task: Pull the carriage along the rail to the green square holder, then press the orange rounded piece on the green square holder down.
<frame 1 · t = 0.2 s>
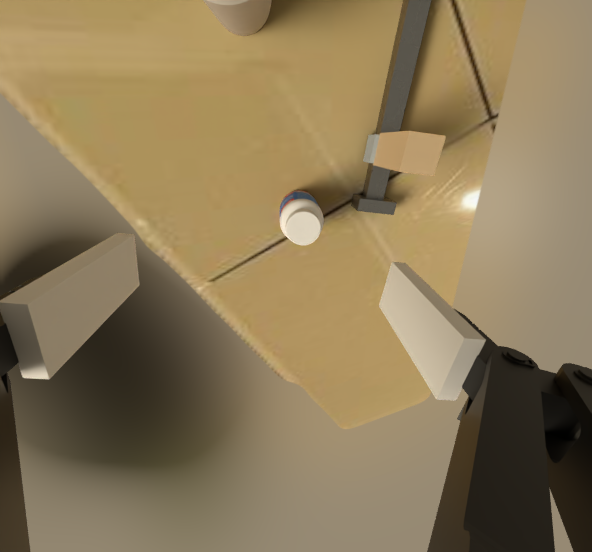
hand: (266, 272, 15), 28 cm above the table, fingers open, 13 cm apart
carriage: (399, 152, 33), point 6 cm above the table, slide at 0.0 cm
pill bottle: (298, 209, 42), on the table
rail: (393, 93, 36), on the table
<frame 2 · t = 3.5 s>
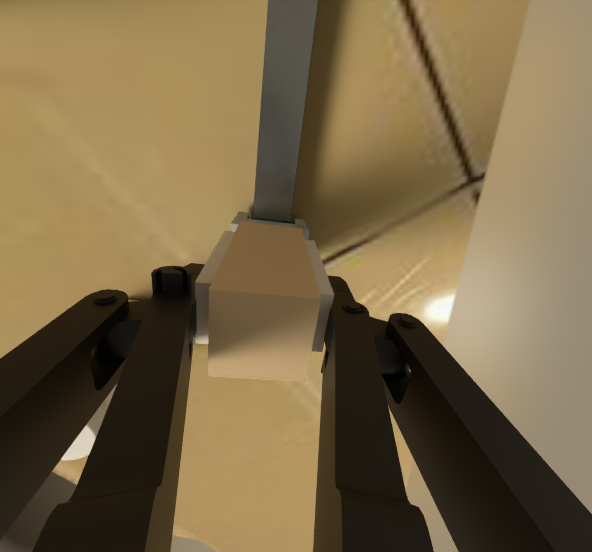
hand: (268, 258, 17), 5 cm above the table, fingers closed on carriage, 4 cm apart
carriage: (267, 271, 15), point 6 cm above the table, slide at 0.0 cm, touching gripper
pill bottle: (139, 325, 24), on the table
rail: (279, 137, 18), on the table
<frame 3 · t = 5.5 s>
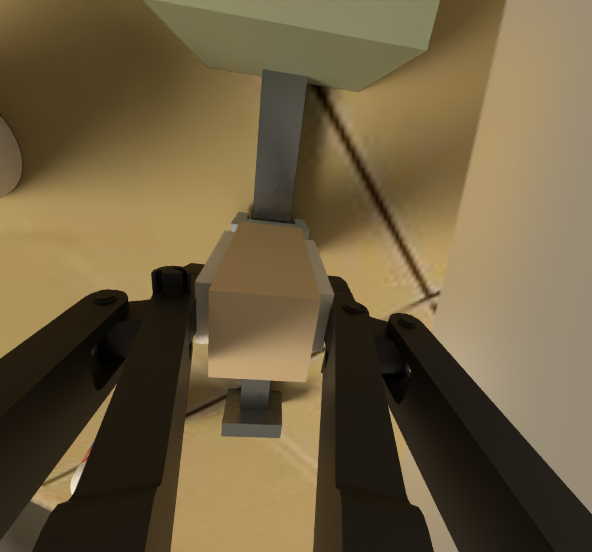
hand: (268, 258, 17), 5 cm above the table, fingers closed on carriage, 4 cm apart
carriage: (267, 271, 15), point 7 cm above the table, slide at 9.4 cm, touching gripper
rail: (266, 271, 22), on the table
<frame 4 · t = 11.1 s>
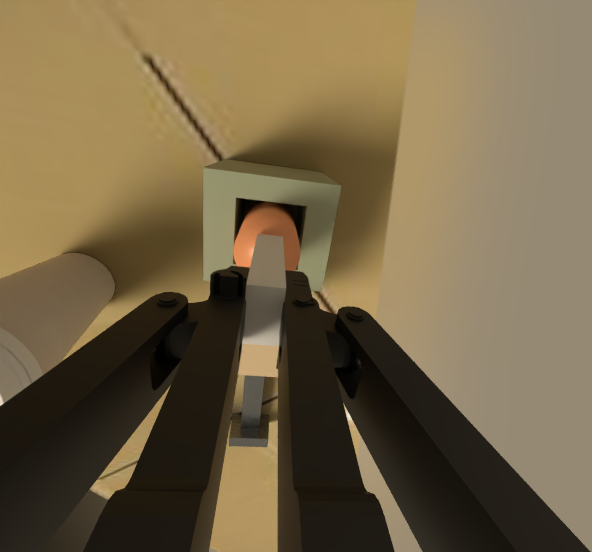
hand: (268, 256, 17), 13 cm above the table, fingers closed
carriage: (261, 313, 26), point 7 cm above the table, slide at 15.0 cm
orange rounded piece: (268, 235, 20), point 9 cm above the table, slide at 0.1 cm, touching gripper
coffee cup: (83, 280, 31), on the table
rail: (258, 342, 35), on the table
green square holder: (270, 208, 29), on the table
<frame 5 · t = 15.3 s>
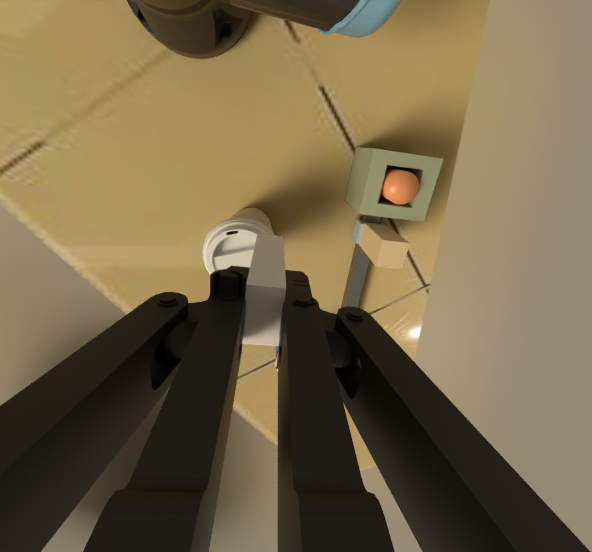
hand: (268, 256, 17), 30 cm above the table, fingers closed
carriage: (378, 240, 43), point 7 cm above the table, slide at 15.0 cm
orange rounded piece: (392, 184, 39), point 6 cm above the table, slide at 2.6 cm
coffee cup: (251, 227, 47), on the table
rail: (355, 274, 52), on the table
green square holder: (378, 178, 45), on the table
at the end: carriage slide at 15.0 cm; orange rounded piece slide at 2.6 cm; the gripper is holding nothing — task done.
